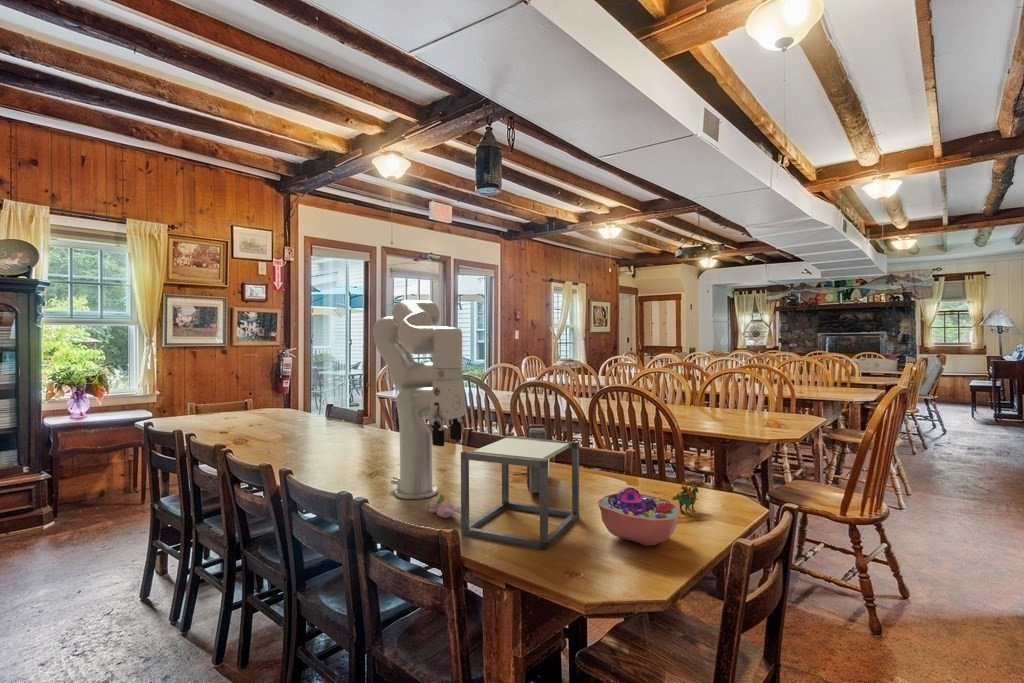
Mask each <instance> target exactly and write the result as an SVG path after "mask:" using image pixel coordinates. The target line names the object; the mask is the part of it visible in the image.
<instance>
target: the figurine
mask: <svg viewBox="0 0 1024 683" xmlns="http://www.w3.org/2000/svg"><path fill="white" fill-rule="evenodd" d="M684 485H685V486H684ZM680 489H681V490H682V491H679V492H678V493H677V494H675V495H674V496H673V497H672V498H671V500H672V501H678V503H679V513H684V514H685V515H687V514H688V515H690V512H688V510H689V511H690V510H692V511H693V512H696V510H695V509H694V508H695V507H694V505H695V504H696V501H699V499H698V498H697V494H698V493H699V488H698V486H697V484H693V483H692V485H691V486H689V487H688V484H687V482H684V481H683V482H681V487H680ZM683 506H685V508H684V510H685V511H684V510H683V508H682V507H683ZM690 506H691V508H690Z"/></svg>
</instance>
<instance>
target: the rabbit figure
mask: <svg viewBox="0 0 1024 683" xmlns="http://www.w3.org/2000/svg"><path fill="white" fill-rule="evenodd" d="M444 501H445V496H444V495H443V494H442V493H441V494H439V498H438V499H437V501H435V502H434V503H432V504H430V503H426V510H428V512H430V513H431V514H436V515H437V516H438V517H441V518H443V519H448V518H450V517H453V516H458V514H460V515H461V506H455V505H454V504H452V503H451V502H444ZM443 502H444V503H443Z"/></svg>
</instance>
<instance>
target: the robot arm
mask: <svg viewBox="0 0 1024 683" xmlns="http://www.w3.org/2000/svg"><path fill="white" fill-rule="evenodd" d="M439 321H440V309H439V307H438V305H437V304H436V303H435V302H434V301H431V300H419V299H418V300H416V299H404V300H401V301H398V302H397V303H395V304H394V305H393V308H392V310H391V316H386V317H381V318H379V319H377V321H375V323H374V325H373V329H372V330H373V341H374V345H375V347H376V349H377V352H378V353H379V354H380V356H381V357H382V359H383V360H384V362H385V363H386V365H387V369H388V371H389V374H390V378H391V380H392V383H393V385H394V388H395V389H396V390H397V391H398V392H399V393H398V394H397V396H396V399H395V400H396V401H395V405H396V411H397V418H398V427H399V476H396V475H393V476H392V479H391V480H390V484H391V485H396V486H397V487H396V488H395V490H394V495H395V496H396V497H397V498H399V499H406V500H419V499H420V500H421V499H426V498H431V497H434V496H435V495H437V494H438V489H439V488H438V487H437V486H436V485H435V484H434V485H433V446H434V447H435V446H436V447H444V446H445V430H444V426H445V423H446V421H451V423H450V424H449V426H450V427H449V428H450V429H449V438H450V440H456V441H460V440H462V425H463V423H464V421H463V419H464V416H465V414H466V395H465V394H466V393H465V387H464V386H465V385H464V379H463V331H462V329H461V328H459V327H452V326H443V325H442V326H441V325H439ZM438 325H439V326H438ZM413 355H432V362H417V361H415V359H414V356H413ZM424 420H427V421H428V422H429V425H430V428H429V426H428V425H427V424H426V423H425V421H424Z"/></svg>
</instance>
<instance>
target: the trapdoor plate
mask: <svg viewBox="0 0 1024 683" xmlns="http://www.w3.org/2000/svg"><path fill="white" fill-rule="evenodd" d="M567 449H569V443H563V442H551V441H540V440H529V439H518V438H504V439H502V438H501V439H499V440H497V441H495V442H492V443H489V444H487V445H485V446H482V447H479V448H477V449H475V450H472V451H471V452H474V453H484V454H493V455H503V456H512V457H522V458H531V459H541V460H548V461H549V459H551V458H553V457H555V456H557V455H558V454H561V453H562V452H563V451H566V450H567Z"/></svg>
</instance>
